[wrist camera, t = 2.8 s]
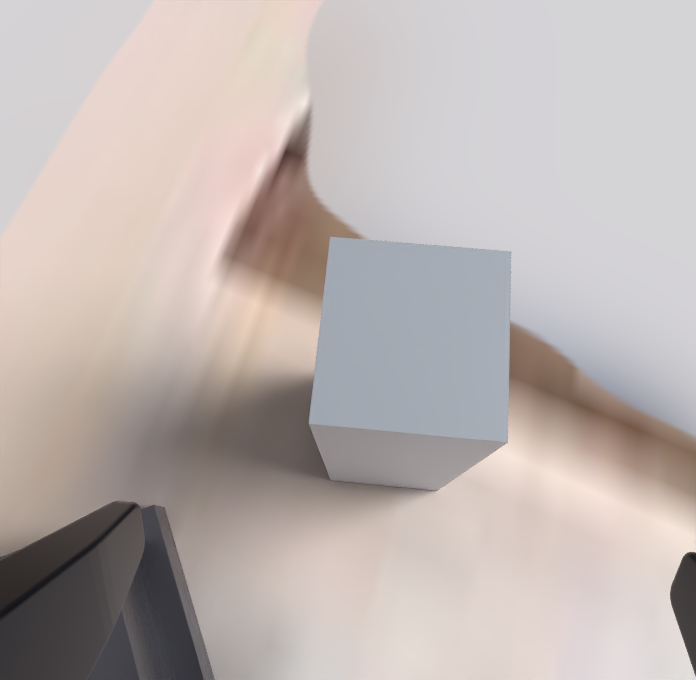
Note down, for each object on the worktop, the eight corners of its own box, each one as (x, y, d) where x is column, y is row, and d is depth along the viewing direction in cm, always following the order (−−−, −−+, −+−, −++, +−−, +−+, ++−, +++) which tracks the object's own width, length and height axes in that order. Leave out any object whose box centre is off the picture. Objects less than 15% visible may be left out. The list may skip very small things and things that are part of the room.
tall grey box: (436, 490, 22) (507, 442, 12) (330, 480, 23) (308, 423, 12) (442, 381, 24) (511, 251, 13) (341, 372, 24) (330, 236, 13)
